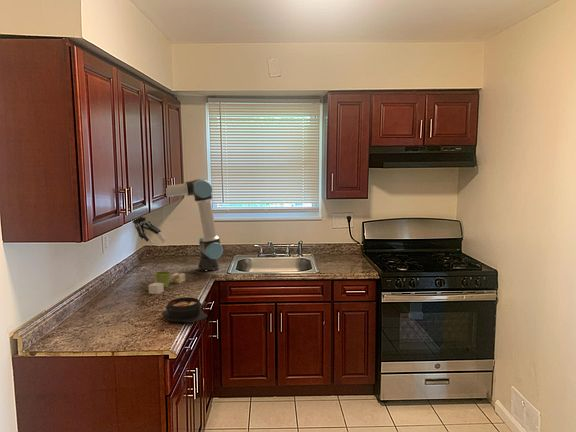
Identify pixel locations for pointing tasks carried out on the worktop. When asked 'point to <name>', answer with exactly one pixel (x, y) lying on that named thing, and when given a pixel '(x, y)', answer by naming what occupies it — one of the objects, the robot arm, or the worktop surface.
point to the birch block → (178, 277)
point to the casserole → (184, 310)
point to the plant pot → (163, 277)
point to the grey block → (156, 288)
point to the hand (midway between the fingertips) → (158, 242)
